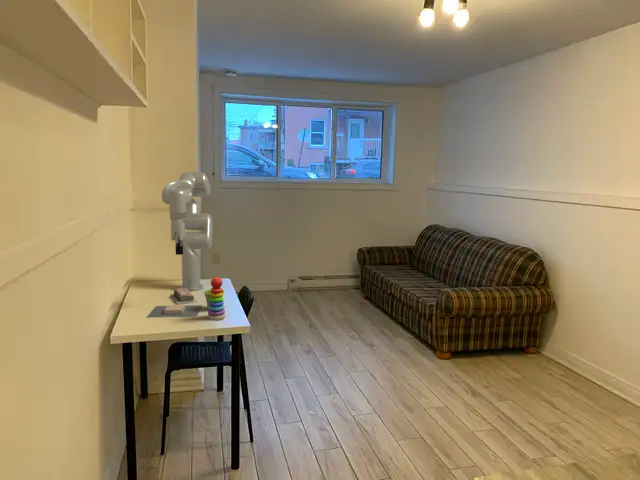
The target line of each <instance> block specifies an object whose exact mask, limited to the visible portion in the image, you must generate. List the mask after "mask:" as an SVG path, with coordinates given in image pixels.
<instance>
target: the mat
mask: <svg viewBox="0 0 640 480" xmlns="http://www.w3.org/2000/svg"><path fill="white" fill-rule="evenodd" d="M167 306H168V305H155V307H154V308H153V309H152V310H151V312H149V314H148V315H147V316H146V318H147V319H148V318H149V319H150V318H190V317H191V318H193V317H194V318H195V317H197V316H198V315H199V313H200V311H201V309H202V307H203V304H197V305H196V304H194V305H193V304H192V305H187V304H186V305H185V311H184V312H183V314H166V315H164V310H165V308H166V307H167Z"/></svg>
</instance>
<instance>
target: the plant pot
mask: <svg viewBox="0 0 640 480" xmlns="http://www.w3.org/2000/svg"><path fill="white" fill-rule="evenodd" d="M210 293H211V289H207V290H204V291H203V294H204V297H205V300H206V305H207V311H208V310H209V309H208V307H209V302H210V297H211V296H210ZM222 293H223V294H224V293H225V291H224V290H223V289H222ZM222 297H223V298H224V295H223V296H222Z"/></svg>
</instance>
